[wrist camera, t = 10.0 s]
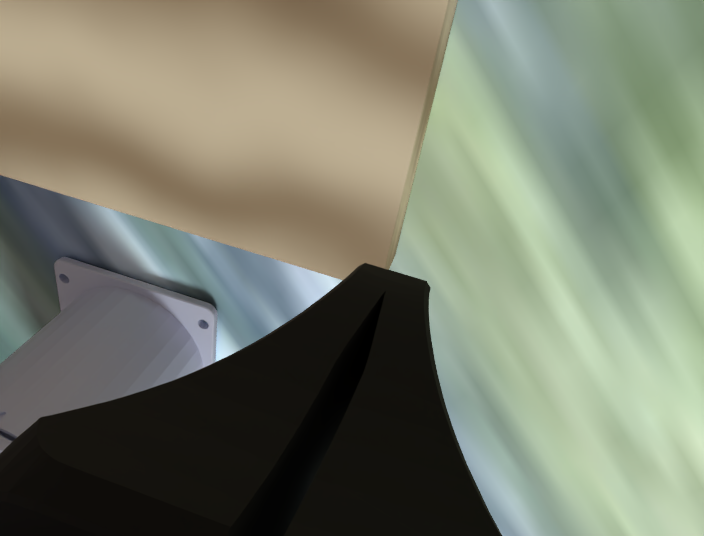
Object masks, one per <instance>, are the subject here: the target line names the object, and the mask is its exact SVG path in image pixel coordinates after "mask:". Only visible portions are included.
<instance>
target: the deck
mask: <svg viewBox="0 0 704 536" xmlns="http://www.w3.org/2000/svg"><path fill="white" fill-rule="evenodd" d="M457 2H458V0H0V175H2V176H5V177H8V178H12V179H15V180H18V181H21V182H25V183H28V184H31V185H34V186H38V187H41V188H44V189H47V190H51V191H54V192H57V193H61V194H64V195H67V196H70V197H74V198H77V199H80V200H83V201H87V202H90V203H93V204H96V205H100V206H103V207H106V208H109V209H113V210H116V211H119V212H123V213H126V214H129V215H132V216H136V217H139V218H142V219H145V220H149V221H152V222H155V223H158V224H162V225H165V226H168V227H171V228H175V229H178V230H181V231H185V232H188V233H191V234H194V235H198V236H201V237H204V238H207V239H211V240H214V241H217V242H220V243H224V244H227V245H230V246H233V247H237V248H240V249H243V250H247V251H250V252H253V253H256V254H260V255H263V256H266V257H269V258H273V259H276V260H279V261H282V262H286V263H289V264H292V265H296V266H299V267H302V268H305V269H309V270H312V271H315V272H318V273H322V274H325V275H328V276H331V277H335V278H338V279H341V280H344V279H345V278H346V277H347V276H348V275H350V274H351V273H352V272H353V271H354V270H355V269H356V268H357V267H358V266H359V265H362V264H364V263H368V264H371V265H374V266H378V267H381V268H384V269H388V270H389V268H390V266H391V263H392V261H393V259H394V257H395V254H396V250H397V246H398V242H399V237H400V233H401V229H402V225H403V221H404V217H405V213H406V209H407V205H408V201H409V197H410V193H411V189H412V185H413V181H414V176H415V172H416V168H417V164H418V160H419V156H420V152H421V148H422V144H423V140H424V136H425V132H426V128H427V124H428V120H429V115H430V111H431V107H432V103H433V99H434V95H435V91H436V87H437V83H438V79H439V75H440V71H441V67H442V63H443V59H444V54H445V50H446V46H447V42H448V38H449V34H450V30H451V26H452V22H453V18H454V14H455V10H456V6H457Z"/></svg>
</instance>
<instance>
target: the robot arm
mask: <svg viewBox="0 0 704 536" xmlns="http://www.w3.org/2000/svg"><path fill="white" fill-rule="evenodd" d="M54 269H55V276H56V283H57V289H58V296H59V303H60V309H61V312H60V313H59V314H58V315H57V316H56V317H54V318H53V319H52V320H51V321H50V322H49V323H47V324H46V325H45V326H44V327H43V328H42V329H40V330H39V331H38V332H37V333H36V334H35V335H34V336H32V337H31V338H30V339H29V340H28V341H27V342H25V343H24V344H23V345H22V346H21V347H20V348H18V349H17V350H16V351H15V352H14V353H13V354H11V355H10V356H9V357H8V358H7V359H6V360H5V361H3V362H2V363H1V364H0V536H502V535H501V533H500V531H499V529H498V527H497V525H496V524H495V522H494V520H493V518H492V516H491V514H490V513H489V511H488V508H487V506H486V504H485V502H484V500H483V498H482V496H481V494H480V491H479V489H478V487H477V485H476V483H475V481H474V479H473V477H472V474H471V472H470V470H469V468H468V466H467V464H466V461H465V459H464V456H463V454H462V451H461V449H460V446H459V443H458V441H457V438H456V436H455V433H454V430H453V427H452V424H451V421H450V418H449V415H448V412H447V409H446V405H445V402H444V398H443V395H442V391H441V387H440V383H439V379H438V375H437V370H436V365H435V360H434V354H433V348H432V342H431V335H430V326H429V292H430V286H429V285H428V283H427V281H424V280H421V279H417V278H414V277H411V276H408V275H404V274H401V273H398V272H394V271H391V270H388V269H384V268H381V267H378V266H374V265H371V264H368V263H364V264H362V265H359V266H358V267H357V268H356V269H355V270H354V271H353V272H352V273H351V274H350V275H348V276H347V277H346V278H345V279H344V280H343V281H342V282H340V283H339V284H338V285H337V286H336V287H334V288H333V289H332V290H331V291H330V292H328V293H327V294H326V295H325V296H323V297H322V298H321V299H319V300H318V301H316V302H315V303H314V304H312V305H311V306H310V307H308V308H307V309H306V310H304V311H303V312H302V313H300V314H299V315H297V316H296V317H294V318H293V319H291V320H290V321H288V322H287V323H285V324H284V325H282V326H280V327H279V328H277V329H276V330H274V331H273V332H271V333H270V334H268V335H266V336H265V337H263V338H261V339H259V340H258V341H256V342H254V343H252V344H251V345H249V346H247V347H245V348H243V349H241V350H239V351H237V352H236V353H234V354H232V355H230V356H228V357H226V358H224V359H222V360H219V361H217V362H215V360H216V337H217V311H216V309H215V307H214V306H212V305H211V304H209V303H207V302H204V301H201V300H198V299H195V298H192V297H189V296H185V295H182V294H179V293H176V292H173V291H170V290H167V289H164V288H161V287H158V286H154V285H151V284H148V283H145V282H142V281H139V280H136V279H133V278H130V277H127V276H123V275H120V274H117V273H114V272H111V271H108V270H105V269H102V268H99V267H96V266H92V265H89V264H86V263H83V262H80V261H77V260H74V259H71V258H68V257H61V258H59V259H58V260H57V261H56V262H55V263H54ZM203 320H204V321H206V322H207V323H208V324H207V323H205V322H204V321H203Z"/></svg>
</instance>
